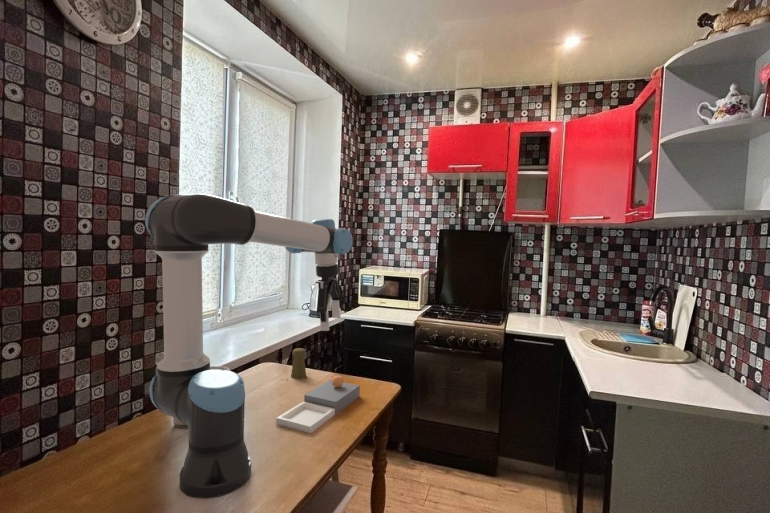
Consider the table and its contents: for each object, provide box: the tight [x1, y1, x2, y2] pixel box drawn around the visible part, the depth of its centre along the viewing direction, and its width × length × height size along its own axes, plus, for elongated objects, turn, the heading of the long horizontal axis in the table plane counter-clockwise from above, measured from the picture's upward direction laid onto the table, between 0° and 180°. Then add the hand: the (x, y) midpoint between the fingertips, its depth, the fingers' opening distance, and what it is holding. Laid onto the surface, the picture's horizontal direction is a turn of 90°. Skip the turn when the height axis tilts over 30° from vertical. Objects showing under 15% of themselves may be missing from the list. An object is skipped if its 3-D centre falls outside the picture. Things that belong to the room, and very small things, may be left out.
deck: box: [303, 379, 361, 415], centre depth 136 cm, size 16×12×4 cm
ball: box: [331, 374, 344, 387], centre depth 139 cm, size 4×4×4 cm
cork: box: [290, 347, 307, 380], centre depth 160 cm, size 6×6×11 cm
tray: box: [275, 400, 336, 434], centre depth 122 cm, size 14×12×2 cm
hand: (331, 323), depth 141 cm, fingers open, 13 cm apart
